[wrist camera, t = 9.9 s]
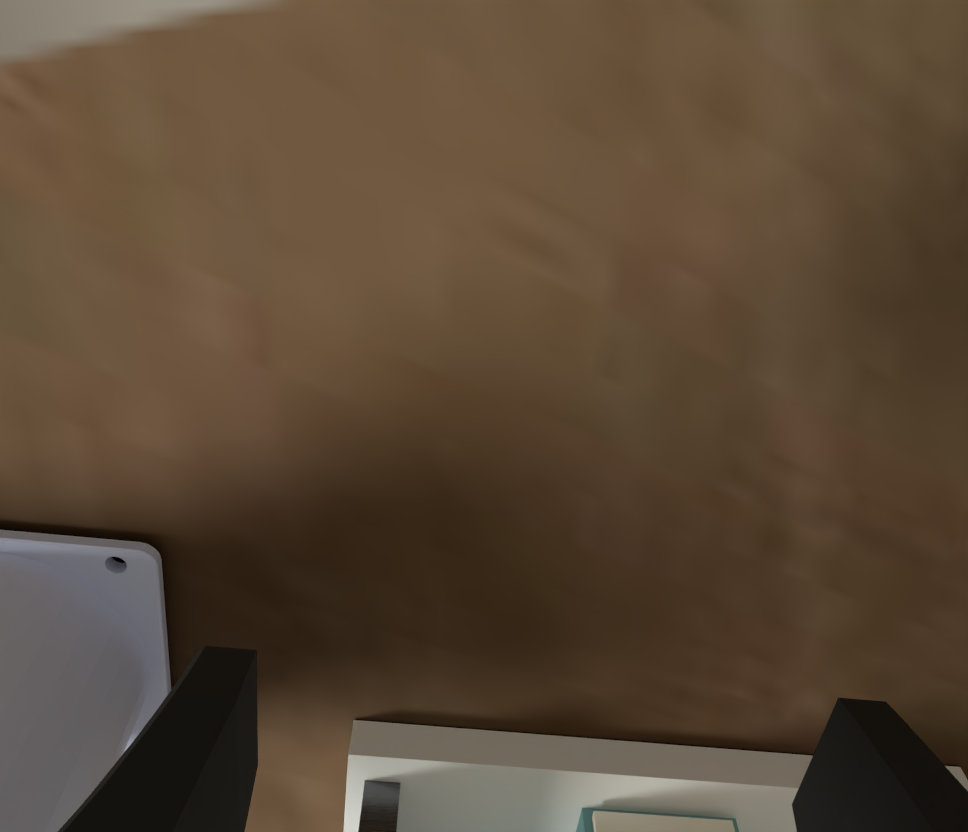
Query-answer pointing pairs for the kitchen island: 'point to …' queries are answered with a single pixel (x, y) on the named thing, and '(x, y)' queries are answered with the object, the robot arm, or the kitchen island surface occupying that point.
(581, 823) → the small book
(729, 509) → the kitchen island surface
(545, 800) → the shelf board
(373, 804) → the bookend
